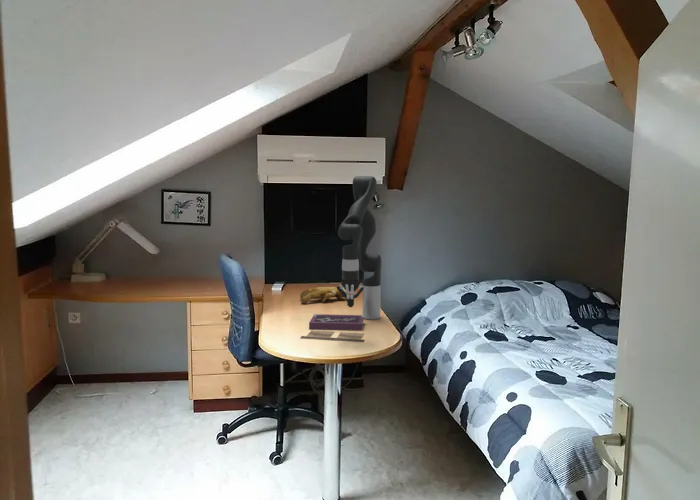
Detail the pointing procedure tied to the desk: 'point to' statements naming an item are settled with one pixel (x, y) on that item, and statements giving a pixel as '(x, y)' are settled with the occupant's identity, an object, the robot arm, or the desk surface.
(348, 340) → the strip
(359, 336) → the plank
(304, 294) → the toy
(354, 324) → the purple gear tray
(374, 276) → the robot arm
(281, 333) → the desk surface
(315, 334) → the plank
